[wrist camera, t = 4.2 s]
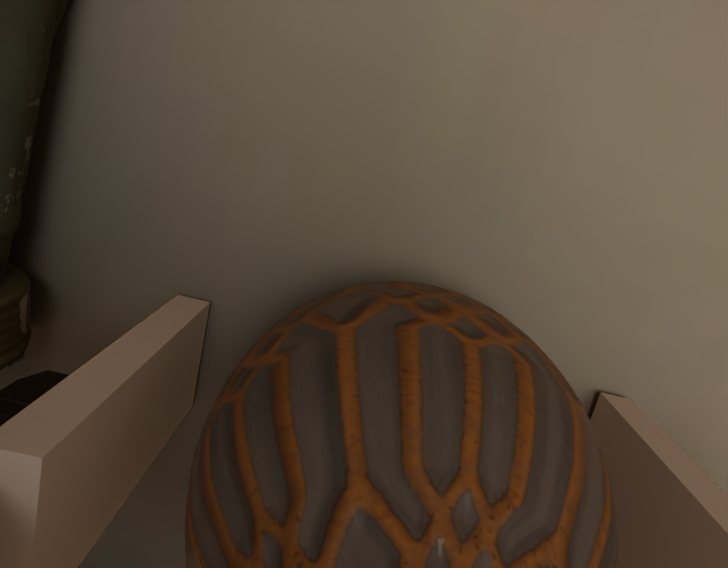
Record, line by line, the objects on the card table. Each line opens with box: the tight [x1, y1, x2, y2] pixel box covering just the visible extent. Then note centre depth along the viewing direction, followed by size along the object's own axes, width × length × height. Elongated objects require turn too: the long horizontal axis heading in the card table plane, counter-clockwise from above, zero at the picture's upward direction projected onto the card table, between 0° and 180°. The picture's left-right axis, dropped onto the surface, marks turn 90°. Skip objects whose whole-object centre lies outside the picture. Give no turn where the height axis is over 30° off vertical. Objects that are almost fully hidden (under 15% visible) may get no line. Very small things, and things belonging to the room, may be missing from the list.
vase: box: [185, 282, 618, 568], centre depth 9 cm, size 7×7×9 cm
